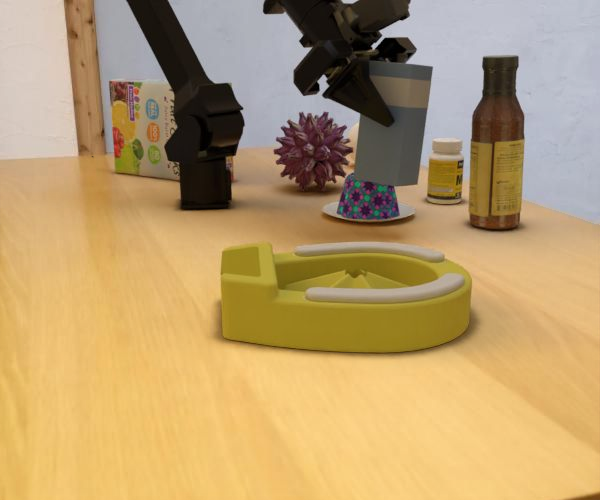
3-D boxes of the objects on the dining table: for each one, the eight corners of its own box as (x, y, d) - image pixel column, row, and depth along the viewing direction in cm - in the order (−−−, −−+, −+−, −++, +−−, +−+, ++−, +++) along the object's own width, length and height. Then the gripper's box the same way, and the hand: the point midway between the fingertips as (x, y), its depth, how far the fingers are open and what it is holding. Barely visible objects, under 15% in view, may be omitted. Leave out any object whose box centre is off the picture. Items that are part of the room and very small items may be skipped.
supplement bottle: (460, 205, 107) (465, 142, 105) (425, 203, 108) (428, 141, 105) (461, 198, 112) (465, 137, 109) (427, 196, 113) (430, 136, 110)
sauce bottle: (523, 222, 98) (539, 54, 92) (514, 233, 93) (530, 56, 87) (471, 216, 101) (482, 53, 94) (459, 228, 96) (470, 55, 89)
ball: (342, 163, 139) (343, 116, 136) (387, 162, 140) (388, 116, 137) (350, 171, 132) (350, 122, 129) (397, 170, 132) (399, 121, 130)
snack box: (236, 180, 124) (233, 81, 119) (214, 186, 120) (210, 83, 115) (136, 168, 135) (130, 76, 130) (112, 173, 131) (105, 78, 126)
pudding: (352, 230, 95) (353, 187, 93) (305, 210, 105) (305, 171, 103) (434, 219, 100) (436, 178, 98) (382, 201, 110) (383, 163, 108)
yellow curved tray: (224, 287, 75) (223, 236, 73) (442, 282, 76) (445, 231, 74) (221, 357, 59) (219, 294, 57) (494, 349, 60) (499, 286, 59)
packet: (352, 178, 91) (365, 60, 87) (374, 176, 94) (387, 62, 90) (397, 186, 87) (412, 64, 83) (418, 184, 91) (433, 66, 87)
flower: (272, 194, 122) (343, 173, 125) (296, 207, 111) (373, 184, 114) (255, 119, 118) (328, 100, 121) (278, 125, 107) (358, 103, 110)
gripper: (318, -47, 78) (414, 75, 76) (405, -37, 92) (487, 66, 90) (255, 37, 84) (341, 151, 82) (345, 34, 99) (421, 131, 97)
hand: (402, 122), depth 88 cm, fingers closed on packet, 5 cm apart
